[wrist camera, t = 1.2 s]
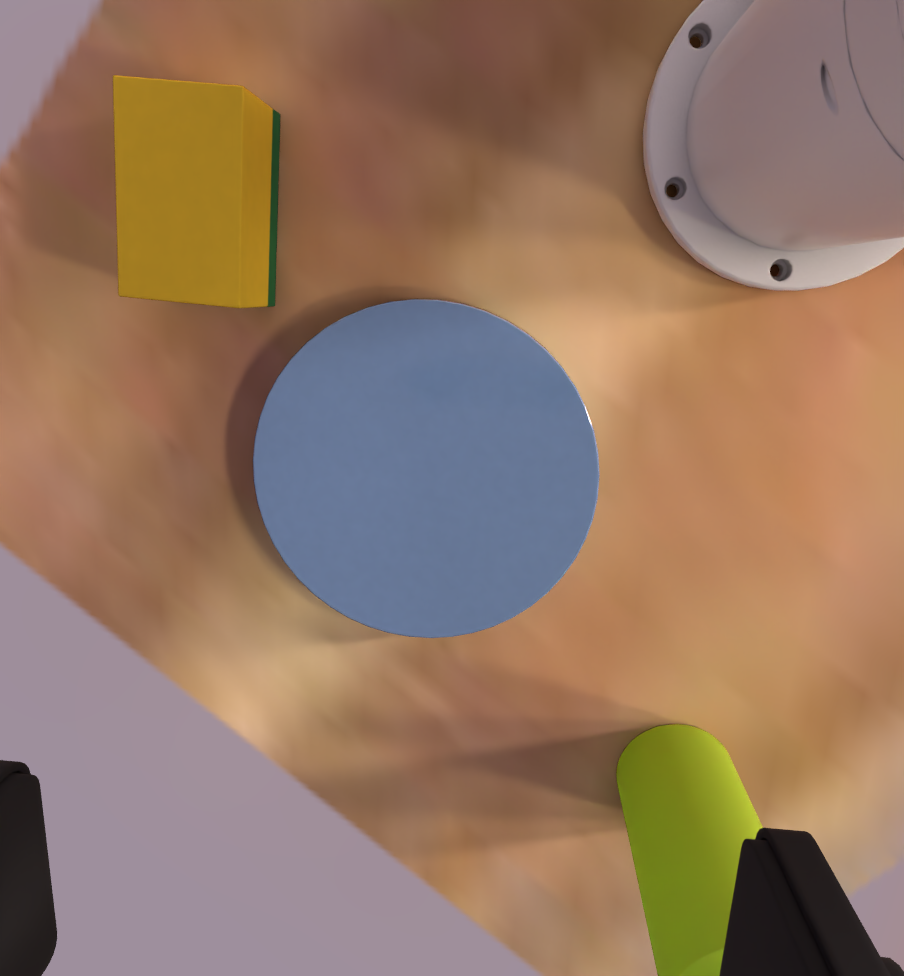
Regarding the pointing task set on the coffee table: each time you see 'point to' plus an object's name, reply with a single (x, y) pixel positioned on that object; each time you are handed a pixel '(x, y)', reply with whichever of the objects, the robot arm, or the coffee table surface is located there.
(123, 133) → the sponge
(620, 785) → the soap dispenser
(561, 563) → the plate
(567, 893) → the coffee table surface
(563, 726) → the coffee table surface
